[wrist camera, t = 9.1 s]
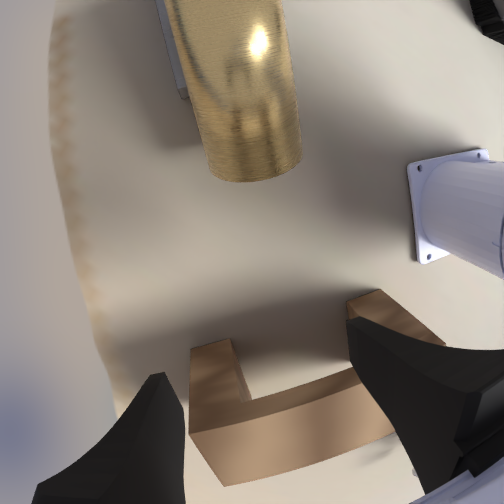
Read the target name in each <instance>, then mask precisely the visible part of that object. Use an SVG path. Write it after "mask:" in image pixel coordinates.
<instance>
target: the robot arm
mask: <svg viewBox="0 0 504 504" xmlns="http://www.w3.org/2000/svg"><path fill="white" fill-rule="evenodd" d="M477 155H478V156H477ZM418 166H419V167H420V170H419V171H418V170H417V167H418ZM407 173H408V180H409V186H410V193H411V201H412V209H413V218H414V228H415V238H416V251H417V261H418V263H420V264H422V265H423V264H426V263H429V262H431V261H434V260H436V259H439V258H441V257H444V256H446V255H449V254H453V255H455V256H457V257H459V258H461V259H463V260H465V261H468V262H470V263H472V264H474V265H476V266H478V267H480V268H482V269H484V270H486V271H488V272H490V273H492V274H494V275H496V276H497V277H499V278H501V279H503V280H504V162H500V161H491V160H489V154H488V151H487V150H486V149H477V150H471V151H466V152H461V153H456V154H451V155H446V156H441V157H436V158H431V159H426V160H422V161H417V162H412V163H410V164H409V165H408V167H407ZM428 254H429V256H428V258H427V255H428ZM346 326H347V335H348V344H349V354H350V362H351V364H352V366H353V368H354V370H355V371H356V373H357V375H358V377H359V379H360V381H361V382H362V383H363V385H364V386H365V388H366V389H367V390H368V392H369V393H370V394H371V396H372V397H373V399H374V400H375V401H376V403H377V404H378V405H379V407H380V408H381V409H382V411H383V412H384V414H385V415H386V416H387V418H388V419H389V421H390V422H391V424H392V426H393V427H394V429H395V431H396V433H397V435H398V437H399V438H400V440H401V442H402V444H403V446H404V448H405V450H406V452H407V454H408V456H409V458H410V460H411V462H412V465H413V467H414V469H415V471H416V473H417V476H418V478H419V480H420V483H421V485H422V488H423V490H424V493H425V496H423V497H421V498H419V499H417V500H415V501H413V502H411V503H409V504H504V349H502V350H471V349H461V348H453V347H447V346H442V345H437V344H433V343H429V342H425V341H422V340H419V339H416V338H413V337H410V336H407V335H404V334H401V333H399V332H396V331H394V330H392V329H389V328H387V327H384V326H382V325H380V324H378V323H375V322H373V321H371V320H369V319H366V318H364V317H361V316H358V317H356V318H353V319H350V320H347V321H346ZM184 449H185V421H184V411H183V407H182V405H181V403H180V401H179V399H178V398H177V396H176V394H175V392H174V390H173V388H172V386H171V384H170V382H169V380H168V378H167V376H166V374H165V372H162V373H158V374H153V375H150V376H149V377H148V379H147V380H146V381H145V383H144V384H143V386H142V387H141V389H140V390H139V392H138V393H137V395H136V396H135V398H134V399H133V400H132V402H131V403H130V405H129V406H128V408H127V409H126V410H125V412H124V413H123V414H122V415H121V417H120V418H119V419H118V421H117V422H116V423H115V424H114V426H113V427H112V428H111V429H110V430H109V432H108V433H107V434H106V435H105V436H104V437H103V438H102V439H101V440H100V441H99V442H98V443H97V444H96V445H95V446H94V447H93V448H91V449H90V450H89V451H88V452H87V453H86V454H84V455H83V456H82V457H81V458H80V459H78V460H77V461H76V462H74V463H73V464H72V465H70V466H69V467H67V468H66V469H64V470H63V471H61V472H59V473H58V474H56V475H54V476H52V477H51V478H49V479H47V480H45V481H43V482H41V483H39V484H38V485H37V488H36V491H35V494H34V497H33V500H32V503H31V504H186V502H185V493H184V478H183V473H184Z"/></svg>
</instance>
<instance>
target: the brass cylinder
mask: <svg viewBox="0 0 504 504" xmlns="http://www.w3.org/2000/svg"><path fill="white" fill-rule="evenodd" d="M164 2H165V6H166V10H167V14H168V18H169V21H170V25H171V29H172V33H173V37H174V40H175V44H176V48H177V52H178V55H179V59H180V63H181V67H182V70H183V74H184V78H185V81H186V85H187V89H188V92H189V96H190V100H191V103H192V107H193V111H194V114H195V118H196V121H197V125H198V129H199V132H200V136H201V139H202V143H203V146H204V150H205V153H206V157H207V160H208V164H209V167H210V171H211V172H212V174H213V175H215V176H216V177H218V178H220V179H222V180H226V181H231V182H254V181H260V180H265V179H269V178H273V177H276V176H278V175H281V174H283V173H285V172H287V171H289V170H290V169H292V168H293V167H295V166H296V165H297V164H298V163H299V162H300V160H301V158H302V155H303V150H302V141H301V132H300V123H299V115H298V107H297V99H296V91H295V84H294V77H293V70H292V63H291V56H290V49H289V43H288V37H287V31H286V25H285V19H284V13H283V7H282V2H281V0H164Z"/></svg>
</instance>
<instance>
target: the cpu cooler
mask: <svg viewBox="0 0 504 504" xmlns="http://www.w3.org/2000/svg"><path fill="white" fill-rule="evenodd" d="M470 5H471V6H472V7H471V8H472V10H473V15H474V16H475V17H474V19H475V21H476V24H477V25H479V26H481V27H482V31H483V35H484V36H487V37H489V38H491V39H493V40H495V41H497V42H499V43H501V44H503V45H504V0H470Z"/></svg>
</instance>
